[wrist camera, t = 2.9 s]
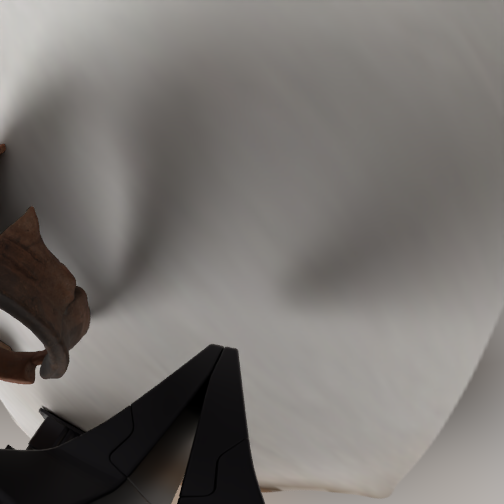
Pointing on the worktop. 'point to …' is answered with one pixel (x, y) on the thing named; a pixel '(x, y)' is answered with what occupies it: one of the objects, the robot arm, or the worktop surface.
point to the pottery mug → (38, 301)
